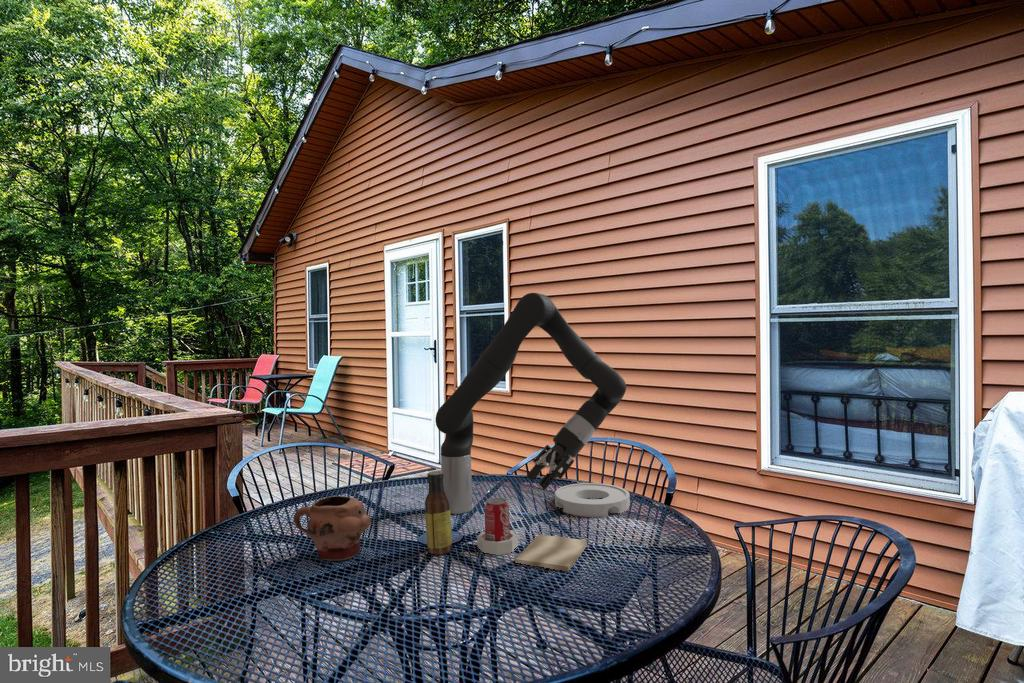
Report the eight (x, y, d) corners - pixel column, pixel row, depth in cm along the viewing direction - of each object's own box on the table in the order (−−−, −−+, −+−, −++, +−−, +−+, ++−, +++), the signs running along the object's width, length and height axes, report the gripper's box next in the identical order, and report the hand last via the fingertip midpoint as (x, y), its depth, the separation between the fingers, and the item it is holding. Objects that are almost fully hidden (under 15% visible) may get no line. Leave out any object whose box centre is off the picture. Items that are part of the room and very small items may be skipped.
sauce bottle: (456, 547, 147) (454, 470, 146) (445, 557, 141) (443, 476, 140) (433, 545, 149) (431, 468, 148) (421, 554, 143) (419, 474, 142)
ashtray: (623, 521, 165) (623, 507, 165) (545, 513, 173) (545, 500, 173) (635, 498, 187) (634, 486, 187) (565, 492, 195) (565, 480, 195)
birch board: (515, 564, 136) (515, 559, 136) (539, 538, 152) (539, 534, 152) (568, 571, 131) (568, 566, 131) (587, 545, 147) (587, 540, 147)
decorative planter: (282, 565, 138) (280, 507, 137) (302, 546, 150) (301, 493, 150) (365, 565, 137) (363, 507, 137) (379, 545, 149) (377, 492, 149)
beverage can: (511, 543, 149) (510, 497, 149) (508, 552, 143) (507, 504, 143) (487, 542, 150) (486, 496, 149) (483, 552, 144) (482, 504, 143)
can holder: (472, 552, 144) (472, 540, 144) (488, 538, 152) (488, 527, 152) (507, 557, 140) (507, 544, 140) (521, 543, 149) (521, 531, 149)
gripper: (553, 422, 159) (515, 467, 155) (577, 430, 146) (536, 480, 142) (571, 439, 161) (534, 485, 157) (596, 449, 148) (556, 499, 144)
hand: (535, 483), depth 150 cm, fingers open, 8 cm apart
